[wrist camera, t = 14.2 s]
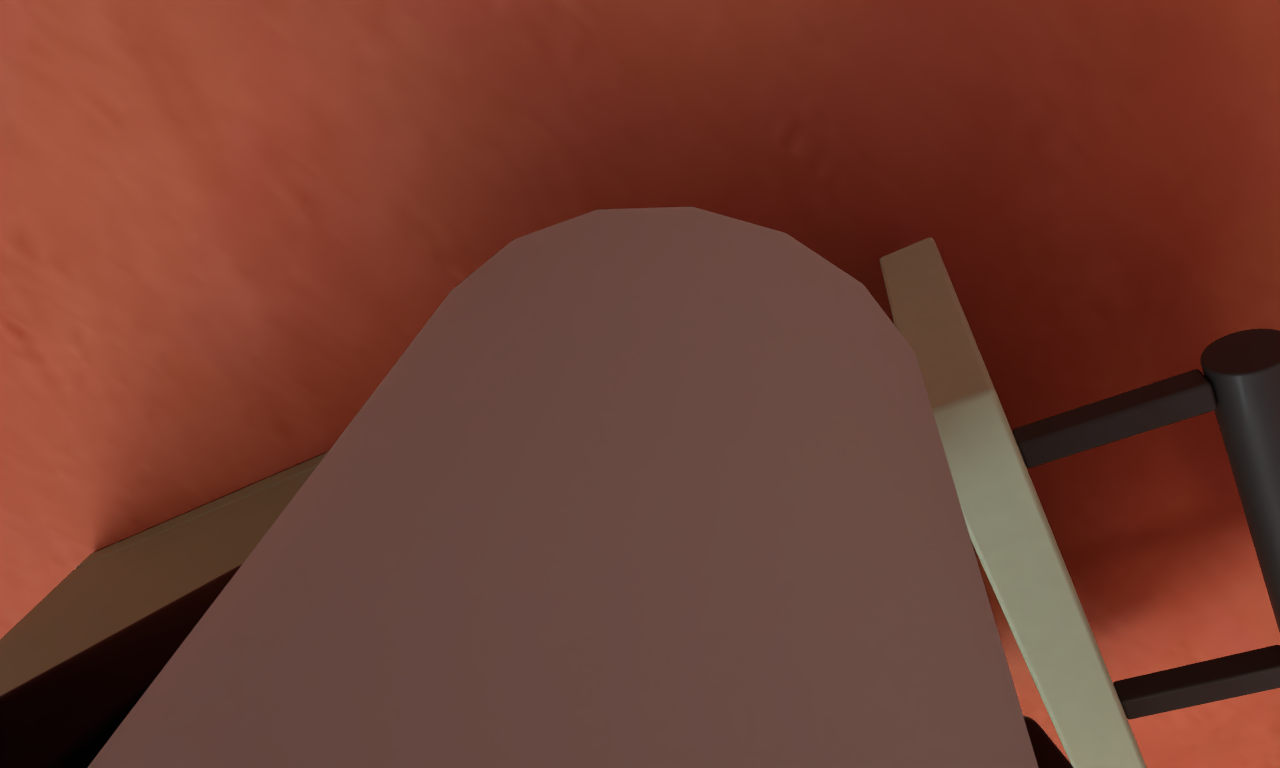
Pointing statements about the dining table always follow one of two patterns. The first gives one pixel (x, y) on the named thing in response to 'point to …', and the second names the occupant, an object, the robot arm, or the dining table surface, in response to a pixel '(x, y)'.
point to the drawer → (1020, 533)
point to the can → (614, 538)
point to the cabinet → (145, 575)
